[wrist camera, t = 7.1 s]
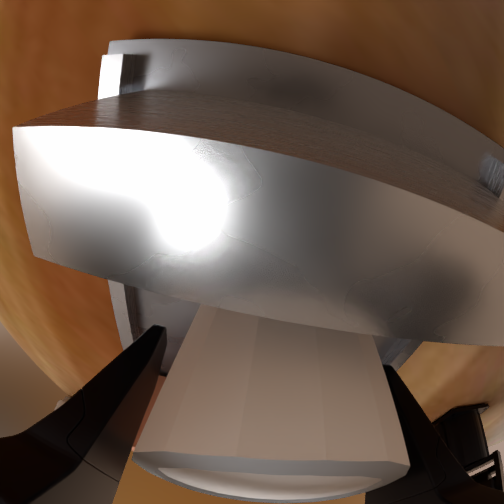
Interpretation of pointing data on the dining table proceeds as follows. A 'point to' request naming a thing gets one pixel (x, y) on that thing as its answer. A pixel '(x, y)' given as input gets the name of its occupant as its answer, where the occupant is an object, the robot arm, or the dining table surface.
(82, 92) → the dining table surface
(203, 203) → the vise base
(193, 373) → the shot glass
